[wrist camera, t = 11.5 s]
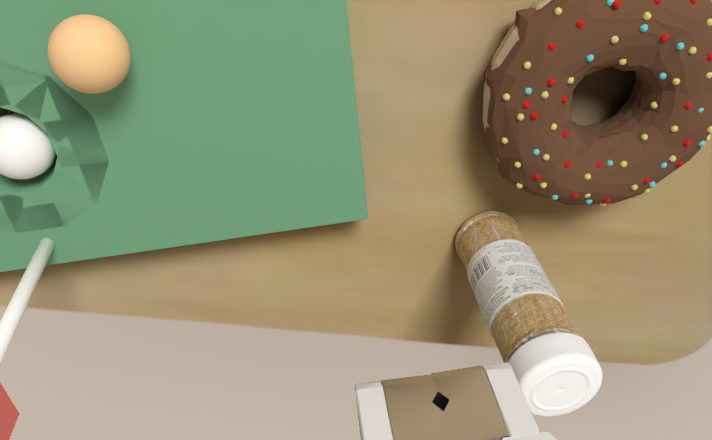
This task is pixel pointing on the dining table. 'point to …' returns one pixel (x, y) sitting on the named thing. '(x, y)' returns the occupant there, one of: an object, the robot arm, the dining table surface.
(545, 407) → the sprinkles bottle
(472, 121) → the dining table surface
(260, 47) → the putting mat
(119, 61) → the orange ball
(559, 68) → the donut
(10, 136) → the white ball
